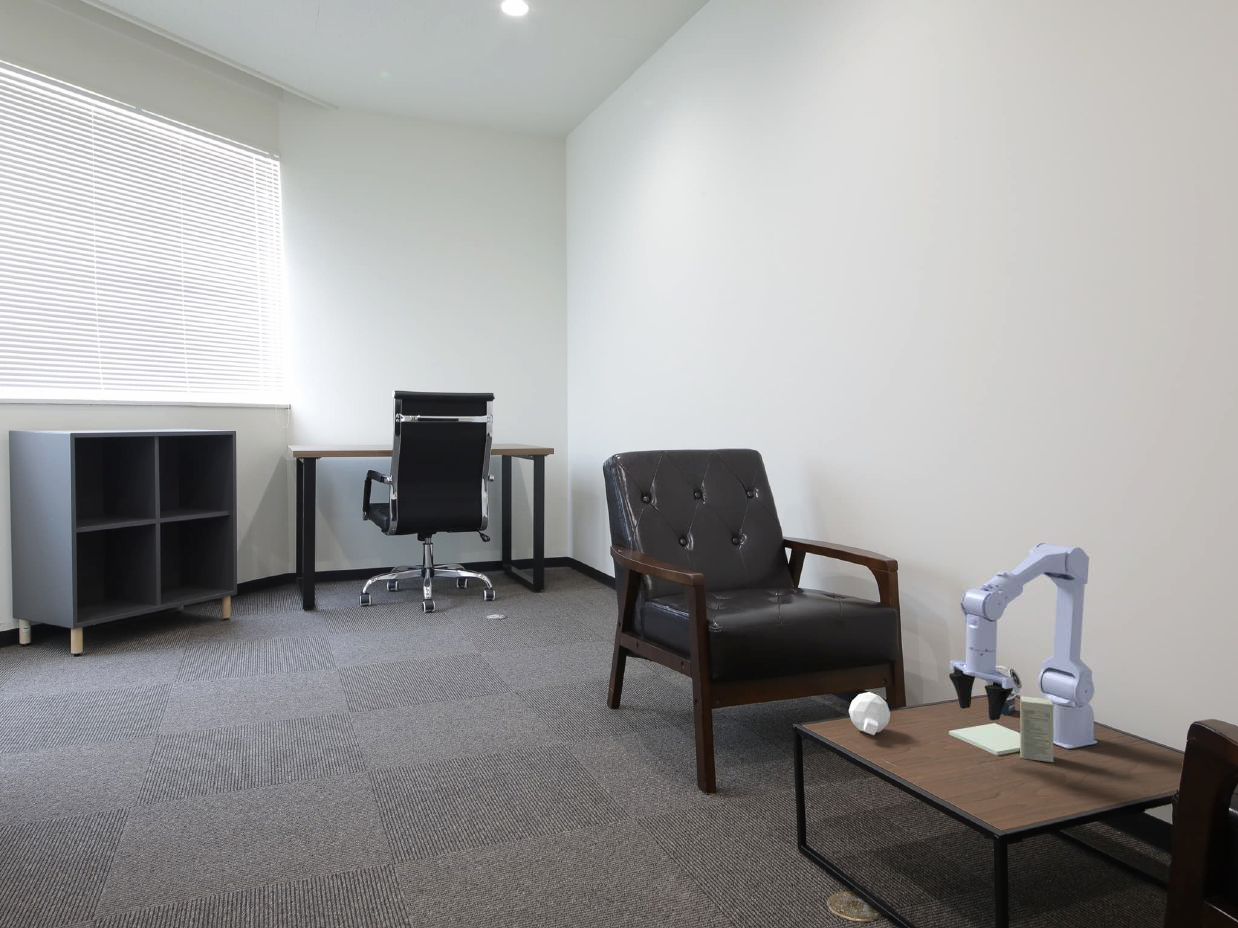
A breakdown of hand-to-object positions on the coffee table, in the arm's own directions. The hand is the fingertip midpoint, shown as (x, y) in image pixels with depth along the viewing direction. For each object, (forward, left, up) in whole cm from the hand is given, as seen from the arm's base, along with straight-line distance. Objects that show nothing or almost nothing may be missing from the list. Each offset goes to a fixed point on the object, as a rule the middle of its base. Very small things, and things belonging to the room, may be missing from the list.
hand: (979, 713), depth 167 cm
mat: (-13, -8, -10) cm, 19 cm away
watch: (-31, -22, -10) cm, 40 cm away
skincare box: (-13, +3, -10) cm, 17 cm away
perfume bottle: (+11, -22, -10) cm, 26 cm away
